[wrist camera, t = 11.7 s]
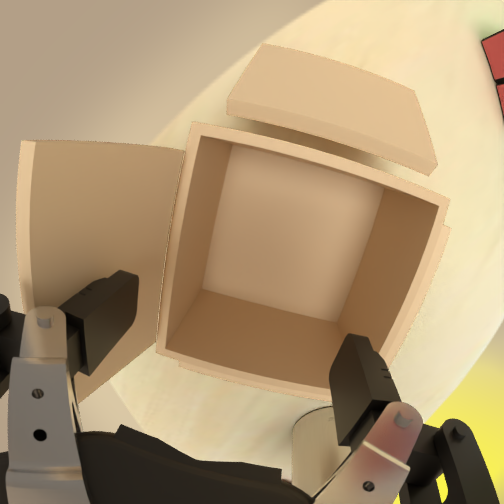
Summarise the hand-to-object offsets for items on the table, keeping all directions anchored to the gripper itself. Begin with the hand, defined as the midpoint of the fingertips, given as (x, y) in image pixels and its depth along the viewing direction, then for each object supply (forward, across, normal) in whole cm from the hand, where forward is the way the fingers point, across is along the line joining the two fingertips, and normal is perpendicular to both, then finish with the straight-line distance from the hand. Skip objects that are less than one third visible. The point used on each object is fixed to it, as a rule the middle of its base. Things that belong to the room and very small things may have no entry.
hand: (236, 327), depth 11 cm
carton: (+15, -2, 0) cm, 15 cm away
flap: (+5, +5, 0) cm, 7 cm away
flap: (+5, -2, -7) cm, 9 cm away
